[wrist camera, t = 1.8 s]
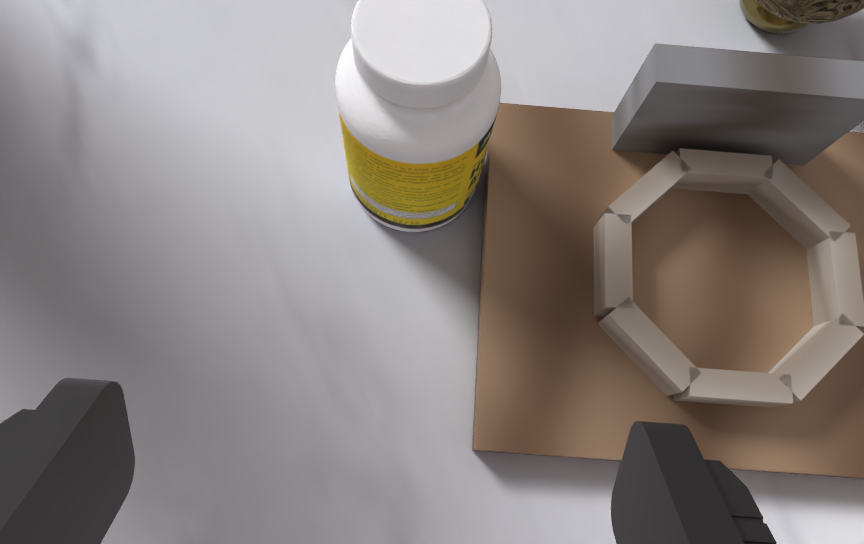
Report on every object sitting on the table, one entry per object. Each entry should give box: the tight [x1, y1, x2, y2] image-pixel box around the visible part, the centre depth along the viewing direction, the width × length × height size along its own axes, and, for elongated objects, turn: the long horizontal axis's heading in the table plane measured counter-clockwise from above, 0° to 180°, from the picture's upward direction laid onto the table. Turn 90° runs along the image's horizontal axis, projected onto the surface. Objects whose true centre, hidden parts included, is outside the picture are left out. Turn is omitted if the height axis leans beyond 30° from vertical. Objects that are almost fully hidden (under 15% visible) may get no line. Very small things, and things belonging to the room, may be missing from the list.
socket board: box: [472, 44, 864, 479], centre depth 24 cm, size 18×14×6 cm
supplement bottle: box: [335, 0, 501, 232], centre depth 23 cm, size 5×5×10 cm
